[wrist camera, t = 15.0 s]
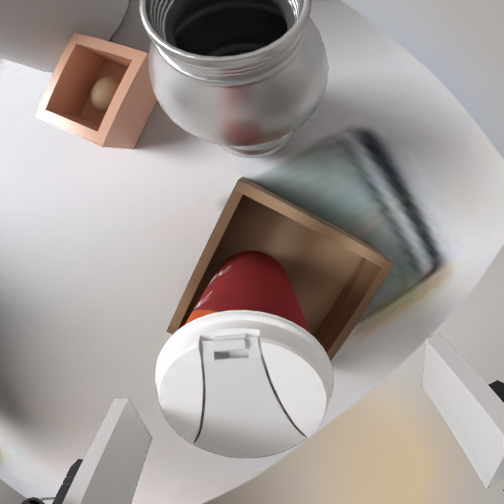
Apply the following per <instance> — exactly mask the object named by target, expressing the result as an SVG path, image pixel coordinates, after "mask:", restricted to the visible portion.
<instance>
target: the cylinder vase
mask: <svg viewBox="0 0 504 504" xmlns="http://www.w3.org/2000/svg"><path fill="white" fill-rule="evenodd" d="M128 4H129V0H0V58H3V59H6V60H9V61H13V62H16V63H19V64H22V65H25V66H29V67H32V68H35V69H38V70H41V71H45V72H54V70H55V68H56V66H57V64H58V62H59V60H60V58H61V56H62V54H63V52H64V50H65V48H66V47H67V45H68V43H69V41H70V39H71V37H72V35H73V34H74V33H77V34H82V35H86V36H90V37H94V38H98V39H102V40H105V41H108V40H109V39H110V38H111V37H112V35H113V34H114V33H115V31H116V30H117V29H118V27H119V25H120V24H121V22H122V20H123V18H124V16H125V13H126V11H127V8H128Z"/></svg>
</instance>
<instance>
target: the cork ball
mask: <svg viewBox="0 0 504 504" xmlns="http://www.w3.org/2000/svg"><path fill="white" fill-rule="evenodd" d="M120 83H121V80H120V79H119V78H117V77H113V76H108V77H104V78H102V79H100V80H98V81H97V82H96V83H95V84H94V86H93V88H92V90H91V102H92V104H93V105H94V107H95V108H96V109H98V110H100V111H103V112H107V110H108V108H109V105H110V103H111V101H112V99H113V97H114V95H115V93H116V91H117V89H118V87H119V85H120Z"/></svg>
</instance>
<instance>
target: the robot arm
mask: <svg viewBox="0 0 504 504" xmlns="http://www.w3.org/2000/svg"><path fill="white" fill-rule="evenodd" d="M422 387H423V388H424V390H425V391H426V393H427V394H428V396H429V397H430V399H431V400H432V402H433V403H434V405H435V406H436V408H437V409H438V411H439V413H440V414H441V415H442V417H443V419H444V420H445V422H446V423H447V425H448V427H449V428H450V430H451V431H452V433H453V434H454V436H455V438H456V439H457V441H458V442H459V444H460V446H461V447H462V449H463V451H464V452H465V454H466V455H467V457H468V459H469V460H470V462H471V464H472V465H473V467H474V469H475V471H476V472H477V474H478V476H479V477H480V479H481V481H482V482H483V484H484V486H485V488H486V489H487V488H489V487H490V486H492V485H494V484H495V483H497V482H499V481H500V480H502V479H503V478H504V383H502V382H500V381H498V380H497V381H495V382H493V383H491V384H489V385H488V384H486V382H485V381H484V380H483V379H482V378H481V377H480V375H479V374H478V373H477V372H476V371H475V370H474V369H473V368H472V367H471V366H470V365H469V364H468V363H467V361H466V360H465V359H464V358H463V357H462V356H461V355H460V354H459V353H458V352H457V351H456V350H455V349H454V348H453V347H452V346H451V344H450V343H449V342H447V340H446V339H445V338H444V337H443V336H442V335H441V334H437V335H434V336H431V337H428V338H425V350H424V369H423V382H422ZM151 440H152V437H151V435H150V434H149V432H148V430H147V429H146V427H145V425H144V424H143V422H142V420H141V419H140V417H139V415H138V413H137V412H136V410H135V408H134V406H133V404H132V403H131V401H130V399H129V398H115V399H114V401H113V403H112V405H111V407H110V409H109V411H108V412H107V414H106V416H105V418H104V420H103V422H102V424H101V426H100V428H99V430H98V432H97V434H96V436H95V438H94V440H93V442H92V443H91V445H90V447H89V449H88V451H87V453H86V455H85V457H84V459H78V460H77V461H76V462H75V463H74V464H73V465H72V466H71V467H70V469H69V471H68V473H67V475H66V476H67V477H66V478H65V479H64V481H63V485H61V487H60V489H59V491H58V493H57V495H56V497H55V499H54V501H53V504H131V502H132V499H133V496H134V493H135V490H136V487H137V483H138V480H139V477H140V474H141V471H142V468H143V465H144V462H145V459H146V455H147V452H148V449H149V446H150V443H151ZM503 491H504V490H503ZM22 504H45V503H43V502H42V501H41V500H40V499H38V498H34V497H33V498H28V499H26V500H25V501H23V502H22Z"/></svg>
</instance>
